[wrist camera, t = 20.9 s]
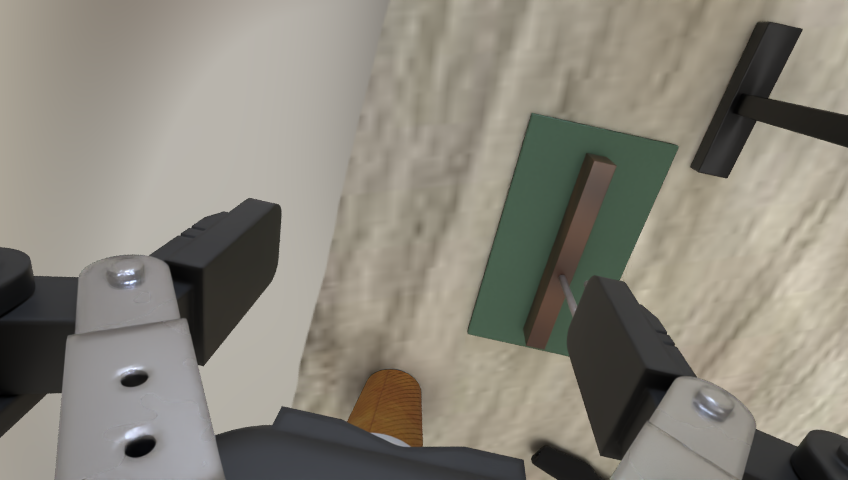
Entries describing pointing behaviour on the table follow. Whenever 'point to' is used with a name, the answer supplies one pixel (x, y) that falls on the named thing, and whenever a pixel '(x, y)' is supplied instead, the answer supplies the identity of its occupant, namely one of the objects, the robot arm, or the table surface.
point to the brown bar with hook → (568, 249)
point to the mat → (543, 213)
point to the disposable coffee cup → (390, 408)
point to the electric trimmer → (563, 465)
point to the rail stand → (761, 103)
